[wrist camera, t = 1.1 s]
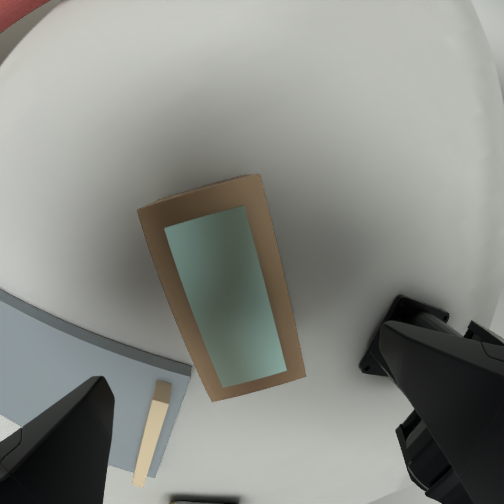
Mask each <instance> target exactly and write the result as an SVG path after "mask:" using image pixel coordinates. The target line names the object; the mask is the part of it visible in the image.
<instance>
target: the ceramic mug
mask: <svg viewBox="0 0 504 504" xmlns="http://www.w3.org/2000/svg"><path fill="white" fill-rule="evenodd" d="M170 504H222V503H198V502H187V501H177V502H172V503H170Z"/></svg>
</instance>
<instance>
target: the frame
mask: <svg viewBox="0 0 504 504" xmlns="http://www.w3.org/2000/svg"><path fill="white" fill-rule="evenodd" d="M137 212H138V216H139V219H140V222H141V225H142V229H143V232H144V235H145V238H146V241H147V244H148V247H149V250H150V253H151V256H152V259H153V262H154V265H155V268H156V270H157V273H158V276H159V279H160V282H161V284H162V287H163V290H164V292H165V295H166V298H167V300H168V303H169V305H170V308H171V311H172V313H173V316H174V318H175V321H176V323H177V326H178V328H179V330H180V333H181V335H182V338H183V340H184V342H185V345H186V347H187V349H188V352H189V354H190V356H191V359H192V361H193V363H194V365H195V367H196V370H197V372H198V374H199V376H200V378H201V381H202V383H203V385H204V387H205V389H206V391H207V393H208V395H209V397H210V399H211V401H212V402H215V401H219V400H224V399H228V398H232V397H236V396H240V395H244V394H248V393H252V392H256V391H260V390H263V389H267V388H270V387H274V386H277V385H281V384H284V383H287V382H290V381H294V380H297V379H300V378H303V377H306V372H305V367H304V363H303V358H302V353H301V348H300V344H299V339H298V334H297V330H296V325H295V321H294V316H293V312H292V307H291V303H290V298H289V294H288V289H287V285H286V281H285V276H284V272H283V268H282V263H281V259H280V255H279V250H278V246H277V242H276V238H275V234H274V230H273V225H272V221H271V217H270V213H269V209H268V205H267V201H266V197H265V193H264V189H263V185H262V181H261V177H260V174H255V175H243V176H239V177H236V178H232V179H228V180H224V181H221V182H217V183H213V184H210V185H206V186H203V187H199V188H196V189H192V190H189V191H186V192H182V193H179V194H176V195H173V196H169V197H166V198H163V199H160V200H157V201H155V202H153V203H151V204H149V205H146V206H144V207H142V208H140V209H138V210H137Z"/></svg>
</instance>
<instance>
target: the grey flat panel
mask: <svg viewBox="0 0 504 504" xmlns="http://www.w3.org/2000/svg"><path fill="white" fill-rule="evenodd" d="M92 376H104V377H105V378H106V380H107V382H108V384H109V386H110V388H111V390H112V392H113V394H114V397H115V407H114V419H113V434H112V442H111V448H110V454H109V461H108V465H111V466H114V467H117V468H120V469H123V470H126V471H130V472H133V473H134V476H133V482H132V485H136V486H139V487H143V488H144V484H145V481H146V477H147V476H148V477H152V478H155V477H156V474H157V471H158V468H159V465H160V462H161V459H162V456H163V453H164V451H165V448H166V445H167V442H168V439H169V436H170V434H171V431H172V428H173V425H174V422H175V419H176V417H177V414H178V411H179V408H180V405H181V403H182V400H183V397H184V394H185V391H186V389H187V386H188V383H189V380H190V378H191V366H189V365H186V364H182V363H179V362H175V361H172V360H169V359H165V358H162V357H159V356H156V355H153V354H149V353H146V352H143V351H140V350H137V349H135V348H132V347H129V346H126V345H123V344H120V343H118V342H115V341H112V340H110V339H107V338H104V337H102V336H99V335H97V334H94V333H92V332H89V331H87V330H84V329H82V328H79V327H77V326H75V325H72V324H70V323H68V322H65V321H63V320H61V319H59V318H56V317H54V316H52V315H50V314H48V313H46V312H44V311H41V310H39V309H37V308H35V307H33V306H31V305H29V304H27V303H25V302H23V301H21V300H19V299H17V298H16V297H14V296H12V295H10V294H8V293H6V292H4V291H3V290H1V289H0V414H1V415H3V416H4V417H6V418H7V419H9V420H11V421H13V422H14V423H16V424H18V425H20V426H21V427H23V426H24V425H25V424H27V423H28V422H30V421H31V420H32V419H34V418H35V417H37V416H38V415H39V414H41V413H42V412H43V411H45V410H46V409H48V408H49V407H50V406H52V405H53V404H54V403H56V402H57V401H59V400H60V399H61V398H63V397H64V396H65V395H67V394H68V393H70V392H71V391H72V390H74V389H75V388H76V387H78V386H79V385H81V384H82V383H83V382H85V381H86V380H87V379H89V378H90V377H92Z"/></svg>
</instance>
